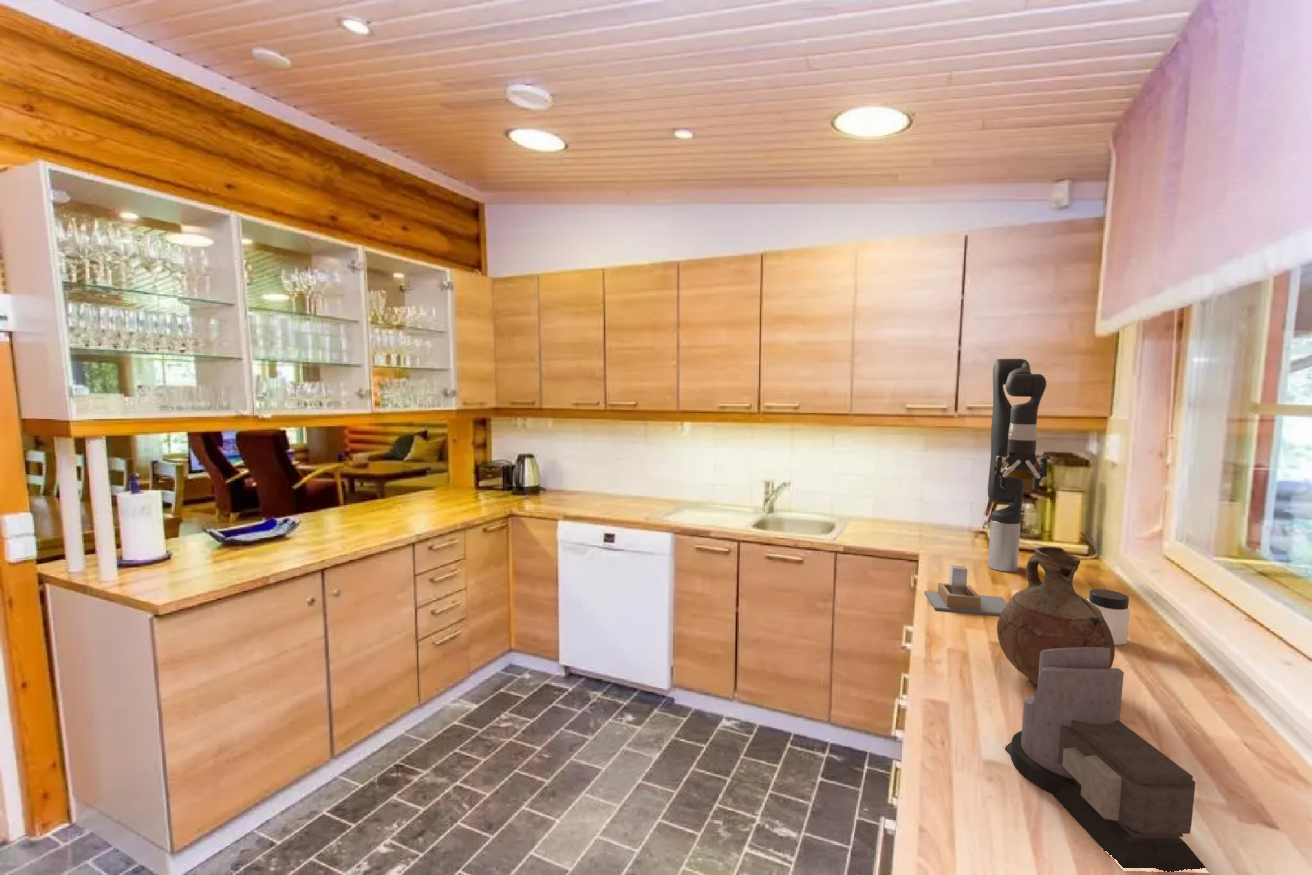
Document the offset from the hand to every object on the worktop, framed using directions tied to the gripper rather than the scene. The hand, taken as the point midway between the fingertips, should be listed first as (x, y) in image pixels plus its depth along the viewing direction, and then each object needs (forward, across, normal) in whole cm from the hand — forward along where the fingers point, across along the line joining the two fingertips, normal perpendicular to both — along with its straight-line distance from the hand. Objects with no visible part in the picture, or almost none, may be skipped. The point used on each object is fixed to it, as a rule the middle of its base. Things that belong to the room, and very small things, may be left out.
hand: (1018, 489), depth 183 cm
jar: (+33, -11, +33) cm, 48 cm away
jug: (+33, +13, +62) cm, 71 cm away
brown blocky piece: (+33, +22, +101) cm, 108 cm away
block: (+32, +20, +16) cm, 41 cm away
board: (+33, +17, +16) cm, 40 cm away
